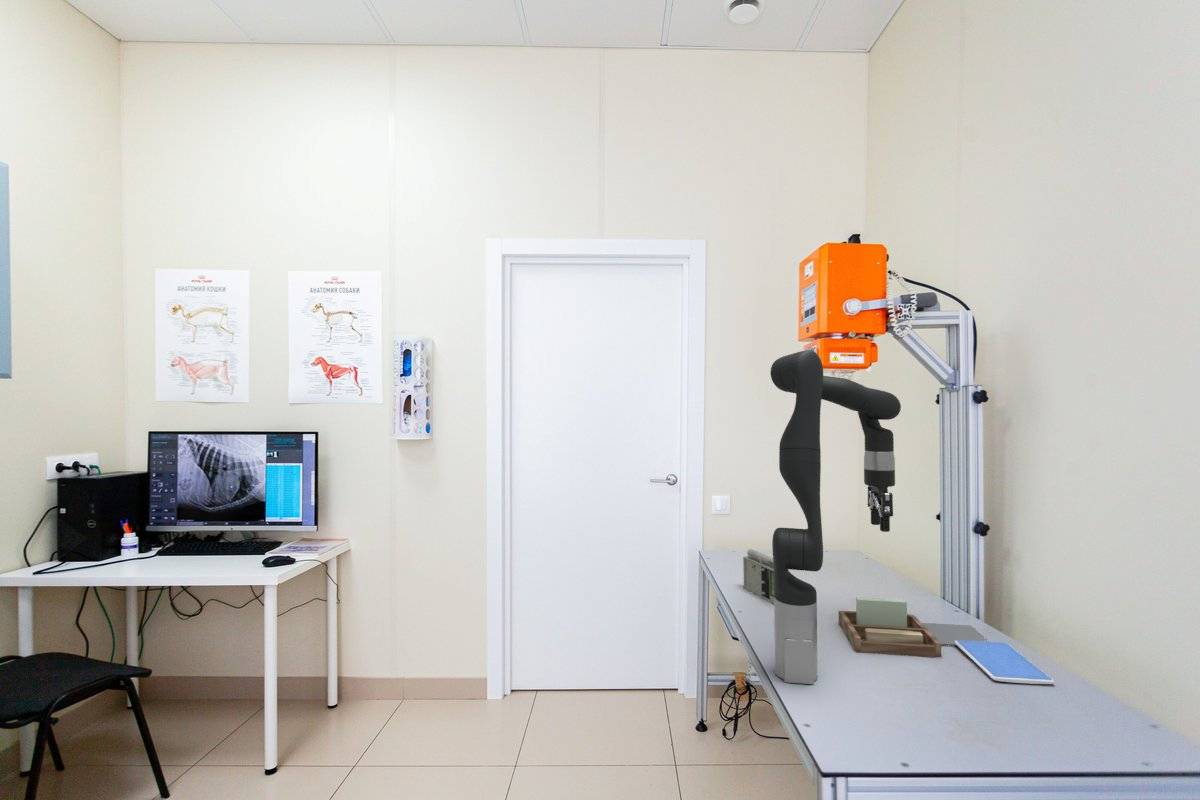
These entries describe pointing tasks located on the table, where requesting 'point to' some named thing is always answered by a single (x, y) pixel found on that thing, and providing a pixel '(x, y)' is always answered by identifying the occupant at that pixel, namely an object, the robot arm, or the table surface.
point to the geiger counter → (759, 575)
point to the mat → (953, 633)
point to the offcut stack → (893, 636)
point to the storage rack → (857, 633)
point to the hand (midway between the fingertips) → (880, 527)
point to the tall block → (881, 612)
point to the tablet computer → (1003, 662)
